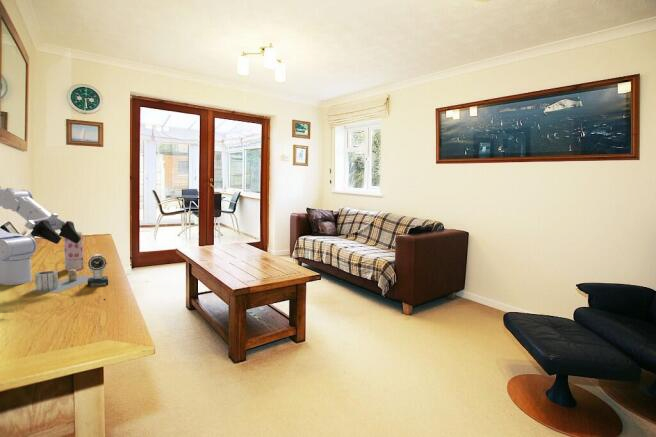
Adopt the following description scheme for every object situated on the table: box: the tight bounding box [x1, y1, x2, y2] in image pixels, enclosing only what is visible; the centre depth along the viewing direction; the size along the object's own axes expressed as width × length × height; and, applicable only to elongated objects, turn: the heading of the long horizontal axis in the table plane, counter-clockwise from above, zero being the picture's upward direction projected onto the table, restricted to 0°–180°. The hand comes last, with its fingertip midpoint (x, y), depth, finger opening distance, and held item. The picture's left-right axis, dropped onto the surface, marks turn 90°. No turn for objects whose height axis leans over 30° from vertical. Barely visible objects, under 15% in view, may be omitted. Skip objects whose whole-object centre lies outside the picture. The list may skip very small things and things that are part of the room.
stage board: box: [28, 274, 93, 294], centre depth 116 cm, size 9×20×1 cm, turn 179°
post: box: [67, 269, 78, 282], centre depth 119 cm, size 2×2×4 cm
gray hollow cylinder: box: [34, 270, 59, 291], centre depth 110 cm, size 5×5×5 cm
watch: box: [87, 253, 109, 288], centre depth 116 cm, size 6×8×11 cm
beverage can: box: [63, 231, 85, 272], centre depth 135 cm, size 6×6×15 cm
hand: (69, 240), depth 112 cm, fingers open, 7 cm apart
